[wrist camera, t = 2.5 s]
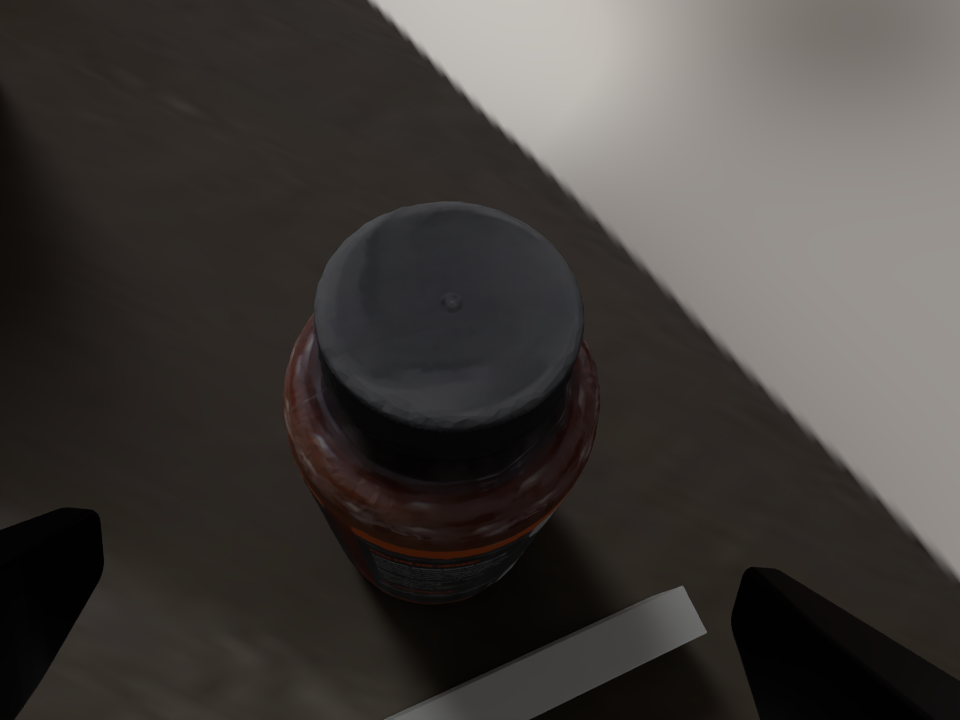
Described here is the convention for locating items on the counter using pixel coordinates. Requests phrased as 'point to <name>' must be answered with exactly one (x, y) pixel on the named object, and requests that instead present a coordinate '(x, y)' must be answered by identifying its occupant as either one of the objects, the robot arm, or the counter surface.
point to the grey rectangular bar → (569, 664)
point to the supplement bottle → (441, 396)
